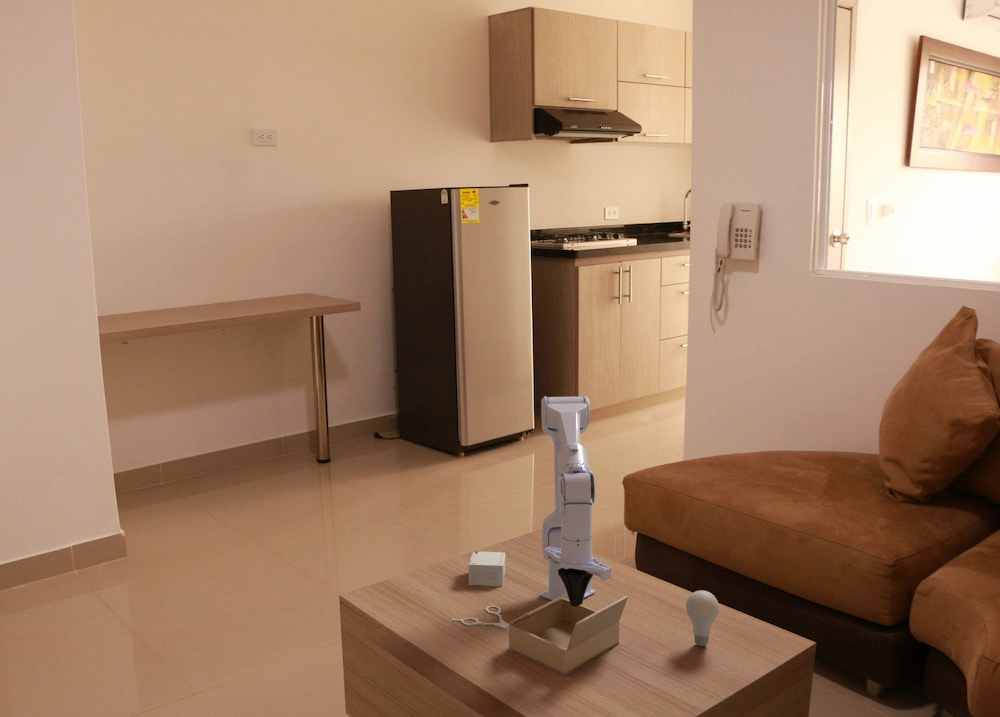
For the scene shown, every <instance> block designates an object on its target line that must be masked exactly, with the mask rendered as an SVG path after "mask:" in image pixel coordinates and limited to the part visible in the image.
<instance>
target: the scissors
mask: <svg viewBox="0 0 1000 717" xmlns="http://www.w3.org/2000/svg"><path fill="white" fill-rule="evenodd" d="M490 607H491V608H494V607H496V609H497V608H498V609H497V610H498V611H491V610H490V609H491V608H490ZM488 608H489V609H488ZM485 611H486V613H487V612H488V613H487V614H489V613H491V614H490V615H495V616H496V615H497V617H498V616H499V617H498V619H499V622H484V621H483V622H482V621H480V620H479V619H478V618H477V617H469V616H468V617H465V618H464V617H463V618H461V619H459V618H458V619H457V618H451V622H458V621H460V623H461V624H462V623H463V624H462V625H464V626H467V627H472V626H473V627H474V626H478V625H479V626H480V625H482V626H485V627H486V625H488V626H493V625H494V627H497V626H498V627H497V628H500V627H501V628H500V629H503V628H504V629H503V630H506V629H509V625H510V623H508V622H506V621H505V620H503V616H502V615H500V614H499V613H501V612H502V610H501V607H499V606H497V605H489V606H488V605H487V606H486V608H485ZM466 619H472V621H474V622H472V623H468V622H465V621H467V620H466ZM464 620H465V621H464ZM507 631H508V632H509V630H507Z"/></svg>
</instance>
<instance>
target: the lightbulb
mask: <svg viewBox="0 0 1000 717" xmlns="http://www.w3.org/2000/svg"><path fill="white" fill-rule="evenodd" d="M719 604H720V603H719V602H718V600H717V598H716V597H715V595H714V594H712V593H711V592H709V591H707V590H701V589H700V590H696V591H694V592H692V593H691V594H690V595H689V596H688V598H687V600H686V603H685V610H686V613H687V616H688V617H689V619H690V620H691V623H692V629H693V630H692V631H693V634H694V643H695V644H696V645H697V646H699V647H702V648H703V647H704V646H707V645H708V644H709V637H710V634H711V628H712V625H713V623H714V622H715V620H716V619H717V616H718V615H719V612H720V605H719Z"/></svg>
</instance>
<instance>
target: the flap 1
mask: <svg viewBox="0 0 1000 717" xmlns="http://www.w3.org/2000/svg"><path fill="white" fill-rule="evenodd" d="M567 596H568V594H565V595H562V596H560V597H558V598H556V599H554V600H551V601H549V602H547V603H545V604H542V605H540V606H539V607H537V608H535V609H534V608H533V610H530V611H528V612H526V613H525V614H522V615H520V616H519V617H516V618H515V619H513V620H510V621H509V625H510V624H512V623H514V622H516V621H518V620H520V619H522V618H525V617H527V616H529V615H531V614H533V613H535V612H537V611H539V610H541V609H543V608H545V607H547V606H549V605H551V604H553V603H555V602H557V601H559V600H561V599H563V598H565V597H567Z"/></svg>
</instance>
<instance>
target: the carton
mask: <svg viewBox="0 0 1000 717" xmlns="http://www.w3.org/2000/svg"><path fill="white" fill-rule="evenodd" d="M597 611H598V610H596V609H593V608H591V607H588V606H585V605H583V604H581V605H579V606H577V607H574V606H572V605H570V601H569V600H568V599H566V598H563V599H561V600H559V601H557V602H555V603H553V604H551V605H549V606H547V607H545V608H543V609H541V610H539V611H537V612H535V613H533V614H531V615H529V616H527V617H525V618H522V619H520V620H518V621H516V622H514V623H512V624H510V623H509V631H508V650H509V651H510V652H513V653H515V654H517V655H519V656H521V657H523V658H526V659H528V660H531V661H533V662H534V663H536V664H539V665H541V666H543V667H545V668H547V669H549V670H552V672H556V673H558V674H560V675H562V676H564V677H566V676H568V675H569V674H571V673H573V672H574V671H576V670H577V669H579V668H581V667H583V666H584V665H586V664H588V663H589V662H591V661H593V660H594V659H596V658H597V657H600V656H601V655H602V654H604V653H605V652H608V651H609V650H611V649H613V648H615V647H616V646H618V645H620V621H619V622H617V623H616V624H614V625H612V626H610V627H609V628H607V629H605V630H603V631H602V632H600V633H598V634H596V635H595V636H593V637H591V638H590V639H588V640H586V641H584V642H583V643H581V644H579V645H577V646H576V647H574V648H572V649H570V650H567V647H568V644H569V641H570V638H571V635H572V632H573V629H574V626H575V623H577V622H579V621H581V620H582V619H584V618H586V617H588V616H590V615H592V614H593V613H595V612H597Z"/></svg>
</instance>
